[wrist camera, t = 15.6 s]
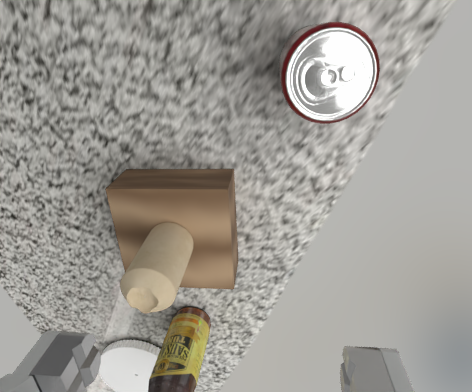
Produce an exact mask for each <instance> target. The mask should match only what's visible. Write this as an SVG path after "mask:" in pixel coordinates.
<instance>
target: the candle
mask: <svg viewBox="0 0 472 392" xmlns="http://www.w3.org/2000/svg"><path fill="white" fill-rule="evenodd" d="M193 245H194V243H193V238H192V236H191V234H190V233H189V231H188V230H187V229H185V228H184V227H183V226H181V225H179V224H176V223H171V222H165V223H161V224H158V225H157V226H155V227H154V228H153V229H152V230H151V232H150V233H149V235H148V236H147V238H146V239H145V241H144V243H143V244H142V246H141V248H140V249H139V251H138V253H137V254H136V256H135V257H134V259H133V261H132V262H131V264H130V266H129V267H128V269H127V270H126V272H125V274H124V275H123V277H122V279H121V282H120V288H121V292H122V294H123V296H124V297H125V299H126V300H127V302H128V303H129V305H130V306H131V307H133V308H137V309H139V310H140V311H141V312H142V313H144V314H147V313H150V312H157V311H162V310H165V309H167V308H168V307H170V306H171V305H172V303H173V302H174V300H175V297H176V295H177V292H178V289H179V286H180V284H181V281H182V278H183V275H184V273H185V270H186V267H187V265H188V262H189V259H190V256H191V254H192V251H193Z"/></svg>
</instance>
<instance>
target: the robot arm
mask: <svg viewBox="0 0 472 392" xmlns="http://www.w3.org/2000/svg"><path fill="white" fill-rule="evenodd" d="M95 342H96V340H95V337H94V335H93V334H90V333H78V332H66V331H51V330H48V331H47V332H45V333H44V334H43V335H42V336H41V337H40V339H39V340H38V341H37V343H36V344H35V345H34V346H33V348H32V349H31V350H30V352H29V353H28V354H27V356H26V357H25V358H24V359H23V361H22V362H21V363H20V365H19V366H18V367H17V369H16V370H15V371H14V372H13V374H7V375H5V376H4V377H3V378H1V379H0V392H87V389H86V387H87V386H88V385H89V384H91V383H92V382H93V381H94V380H95V378H96V376H97V374H98V372H99V368H100V363H101V355H100V352H99V350H98V349H97V348H96V347H95V346H93V345H94V343H95ZM343 359H344V363H342V364H341V370H340V381H341V390H342V392H414V389H413V387H412V384H411V381H410V379H409V376H408V374H407V371H406V369H405V366H404V364H403V361H402V359H401V356H400V354H399V352H398V351H397V350H396V349H388V348H375V347H350V346H349V347H348V346H345V347H344V349H343Z"/></svg>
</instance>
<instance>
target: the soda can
mask: <svg viewBox="0 0 472 392" xmlns="http://www.w3.org/2000/svg"><path fill="white" fill-rule="evenodd" d="M379 72H380V64H379V57H378V53H377V49H376V47H375V45H374V44H373V42H372V40H371V39H370V38H369V37H368V35H367V34H366V33H365V32H363V31H362V30H361V29H359V28H358V27H355V26H353V25H351V24H348V23H342V22H328V23H321V24H315V25H310V26H306V27H304V28H302V29H300V30H298V31H297V32H295V33H294V34H293V35H292V36H291V37H290V38H289V39H288V40H287V42H286V43H285V45H284V47H283V49H282V51H281V54H280V59H279V73H280V80H281V86H282V92H283V94H284V97H285V99H286V101H287V103H288V104H289V106H290V108H291V109H292V110H293V111H294V112H295V113H296V114H298V115H299V116H301V117H302V118H304V119H306V120H308V121H311V122H314V123H320V124H330V123H335V122H340V121H342V120H345V119H347V118H349V117H351V116H352V115H354V114H355V113H357V112H358V111H359V110H360V109H361V108H362V107H364V105H365V104H366V103H367V102H368V100H369V99H370V98H371V96H372V94H373V92H374V90H375V88H376V85H377V82H378V79H379Z"/></svg>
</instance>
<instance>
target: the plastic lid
mask: <svg viewBox="0 0 472 392" xmlns="http://www.w3.org/2000/svg"><path fill="white" fill-rule="evenodd" d="M160 350H161V349H159V347H156V346H155V345H153V344H149V343H146V342H142V341H139V340H137V341H136V340H131V339H130V340H123V341H122V340H120V341H117V342H114V343H112V344H110V345H109V346H107V347H106V348H105V349H104V351H103V352H102V354H101V363H100V368H99V372H98V373H99V375H100V377H101V378H102V380H103V382H105V384H107V386H109V387H110V388H112V390H115V392H148V386H149V379H150V376H151V374H152V371H153V368H154V366H155V363H156V360H157V358H158V355H159V353H160Z"/></svg>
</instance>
